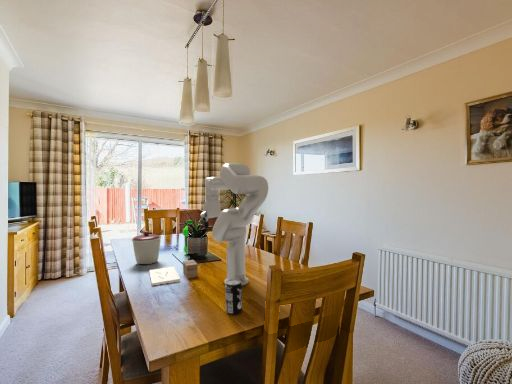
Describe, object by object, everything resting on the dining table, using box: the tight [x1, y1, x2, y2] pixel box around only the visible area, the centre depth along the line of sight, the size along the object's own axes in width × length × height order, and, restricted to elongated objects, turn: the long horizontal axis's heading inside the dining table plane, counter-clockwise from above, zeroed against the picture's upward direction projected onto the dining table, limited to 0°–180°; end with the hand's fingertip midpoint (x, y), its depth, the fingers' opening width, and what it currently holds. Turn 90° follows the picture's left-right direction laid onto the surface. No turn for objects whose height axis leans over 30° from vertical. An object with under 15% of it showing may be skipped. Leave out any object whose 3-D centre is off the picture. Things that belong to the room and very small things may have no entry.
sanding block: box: [182, 259, 199, 279], centre depth 155 cm, size 10×6×7 cm, turn 26°
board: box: [148, 266, 181, 287], centre depth 152 cm, size 24×14×2 cm, turn 24°
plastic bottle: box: [182, 219, 194, 255], centre depth 200 cm, size 10×10×25 cm
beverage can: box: [224, 279, 243, 316], centre depth 108 cm, size 7×7×12 cm
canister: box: [131, 230, 162, 265], centre depth 181 cm, size 18×18×21 cm
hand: (212, 227), depth 162 cm, fingers open, 9 cm apart
